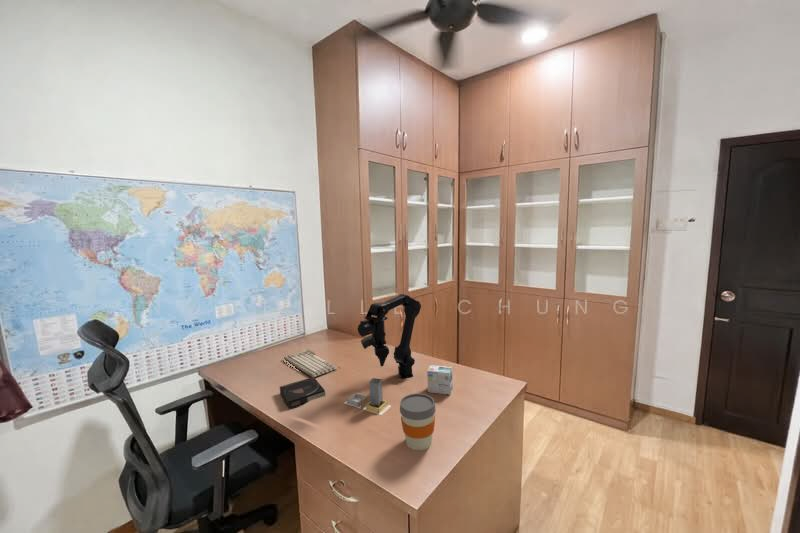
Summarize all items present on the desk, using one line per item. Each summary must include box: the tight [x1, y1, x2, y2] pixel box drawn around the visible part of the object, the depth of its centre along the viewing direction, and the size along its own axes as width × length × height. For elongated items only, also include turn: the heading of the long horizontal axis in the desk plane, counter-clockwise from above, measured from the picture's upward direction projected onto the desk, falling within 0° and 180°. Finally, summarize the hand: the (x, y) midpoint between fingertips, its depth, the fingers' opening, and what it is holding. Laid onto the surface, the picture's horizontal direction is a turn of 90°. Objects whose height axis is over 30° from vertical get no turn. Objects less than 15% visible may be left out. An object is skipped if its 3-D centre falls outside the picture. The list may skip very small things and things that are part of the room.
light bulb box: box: [426, 364, 454, 396], centre depth 149 cm, size 11×7×11 cm, turn 71°
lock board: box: [344, 392, 392, 416], centre depth 139 cm, size 20×8×5 cm, turn 59°
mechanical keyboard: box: [283, 348, 340, 379], centre depth 186 cm, size 38×19×3 cm, turn 44°
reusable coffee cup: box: [399, 393, 436, 451], centre depth 114 cm, size 13×13×15 cm
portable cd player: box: [279, 377, 326, 410], centre depth 151 cm, size 16×17×4 cm
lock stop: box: [368, 377, 384, 408], centre depth 135 cm, size 4×4×12 cm
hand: (380, 362), depth 152 cm, fingers open, 9 cm apart
